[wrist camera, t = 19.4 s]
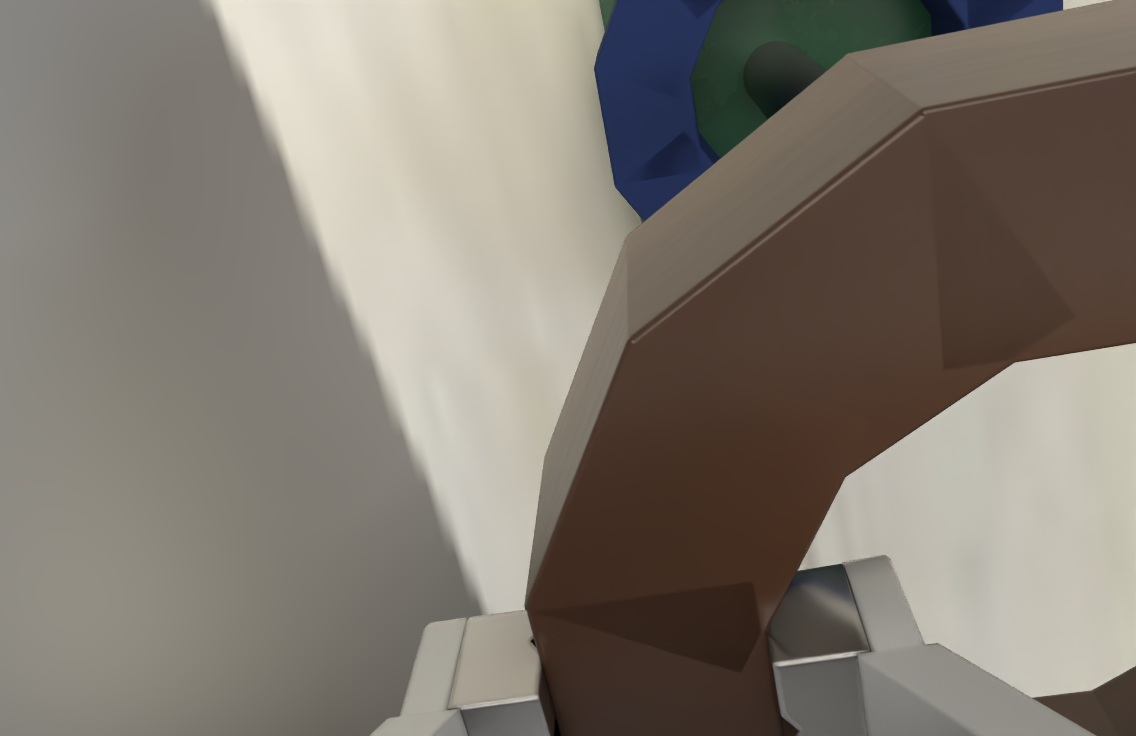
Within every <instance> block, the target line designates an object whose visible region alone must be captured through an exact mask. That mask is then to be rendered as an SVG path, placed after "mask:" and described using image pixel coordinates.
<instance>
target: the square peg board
mask: <svg viewBox="0 0 1136 736" xmlns="http://www.w3.org/2000/svg"><path fill="white" fill-rule="evenodd" d="M615 1H616V0H599V3H600V8H601V14H602V19H603V24H604V29H605V30H606V27H607V24H608V21H609V18H610V16H611V13H612V10H613V7H614V4H615ZM927 37H932V29H931V15H930V14H929V12H928V11H927V9H926V8H925V6H924V5H923V4H922V2H921V1H920V0H724V1H723V2H722V3H721V4H719V5H718V7H717V10H716V12H715V15H714V18H713V20H712V23H711V25H710V28H709V31H708V33H707V36H706V38H705V41H704V44H703V46H702V49H701V51H700V54H699V57H698V59H697V62H696V64H695V67H694V70H693V72H692V75H691V82H692V89H693V96H694V103H695V110H696V117H697V124H698V131H699V133H700V134H701V135H702V137H703V138H704V139H705V140H706V142H707V143H708V144H709V145H710V146H711V148H712V149H713V150H714V151H715V153H716V154H717V155H718V156H719V158H720V159H721V158H722V157H723V156H725V155H726V154H727V153H728V152H729V151H731V150H732V149H733V148H734V147H735V146H737V145H738V144H739V143H740V142H742V141H743V140H744V139H745V138H746V137H748V136H749V135H750V134H751V133H752V132H754V131H755V130H756V129H757V128H758V127H760V126H761V125H762V124H763V123H765V122H766V121H767V120H768V119H769V118H771V117H772V116H773V115H774V114H775V113H777V112H778V111H779V110H780V109H781V108H783V107H784V106H785V105H786V104H788V103H789V102H790V101H791V100H792V99H794V98H795V97H796V96H797V95H798V94H800V93H801V92H802V91H803V90H805V89H806V88H807V87H808V86H809V85H811V84H812V83H813V82H814V81H815V80H817V79H818V78H819V77H820V76H821V75H823V74H824V73H825V72H826V71H828V70H829V69H830V68H831V67H832V66H834V65H835V64H836V63H837V62H838V61H840V60H841V59H842V58H843V57H844V56H845V55H847V54H848V53H853V52H858V51H863V50H868V49H873V48H878V47H883V46H888V45H893V44H898V43H903V42H907V41H912V40H917V39H922V38H927ZM641 221H642V223H643V222H644V220H643V219H642V218H641Z"/></svg>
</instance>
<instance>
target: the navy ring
mask: <svg viewBox="0 0 1136 736" xmlns="http://www.w3.org/2000/svg"><path fill="white" fill-rule="evenodd" d="M723 1H724V0H616V1H615V4H614V7H613V10H612V13H611V16H610V18H609V21H608V24H607V27H606V30H605V33H604V36H603V39H602V42H601V44H600V47H599V50H598V53H597V57H596V62H595V67H594V71H595V77H596V83H597V88H598V94H599V100H600V105H601V111H602V117H603V122H604V128H605V134H606V139H607V145H608V151H609V156H610V162H611V168H612V173H613V179H614V185H615V187H616V189H617V190H618V191H619V192H620V193H621V195H622V196H623V197H624V198H625V199H626V200H627V202H628V203H629V204H630V205H631V206H632V207H633V209H634V210H635V211H636V212H637V213H638V215H639V216H640V217H641V218H642V219H643V220H644V222H645V221H646V220H647V219H648V218H649V217H651V216H652V215H653V214H654V213H655V212H657V211H658V210H659V209H660V208H662V207H663V206H664V205H665V204H666V203H668V202H669V201H670V200H671V199H672V198H674V197H675V196H676V195H677V194H679V193H680V192H681V191H682V190H683V189H685V188H686V187H687V186H688V185H689V184H691V183H692V182H693V181H694V180H695V179H697V178H698V177H699V176H700V175H702V174H703V173H704V172H705V171H706V170H708V169H709V168H710V167H711V166H712V165H714V164H715V163H716V162H717V161H718V160H720V158H719V156H718V155H717V154H716V153H715V151H714V150H713V149H712V148H711V146H710V145H709V144H708V143H707V142H706V140H705V139H704V138H703V137H702V135H701V134H700V133H699V131H698V124H697V117H696V110H695V103H694V96H693V89H692V82H691V75H692V72H693V70H694V67H695V64H696V62H697V59H698V57H699V54H700V51H701V49H702V46H703V44H704V41H705V38H706V36H707V33H708V31H709V28H710V25H711V23H712V20H713V18H714V15H715V12H716V10H717V7H718V5H719V4H721V3H722V2H723ZM920 1H921V2H922V4H923V5H924V6H925V8H926V9H927V11H928V12H929V14H930V15H931V29H932V36H937V35H942V34H947V33H952V32H957V31H962V30H967V29H972V28H977V27H982V26H987V25H992V24H997V23H1002V22H1007V21H1012V20H1017V19H1022V18H1027V17H1032V16H1037V15H1042V14H1047V13H1052V12H1057V11H1062V10H1063V0H920Z"/></svg>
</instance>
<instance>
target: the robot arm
mask: <svg viewBox="0 0 1136 736" xmlns="http://www.w3.org/2000/svg"><path fill="white" fill-rule="evenodd" d="M766 634H767V640H768V646H769V652H770V659H771V665H772V671H773V677H774V683H775V688H776V693H777V698H778V703H779V708H780V713H781V715H780V717H781V723H782V728H783V734H784V736H1096V735H1094V734H1093V733H1091V732H1089V731H1087V730H1086V729H1084V728H1082V727H1081V726H1079V725H1077V724H1075V723H1074V722H1072V721H1070V720H1069V719H1067V718H1065V717H1063V716H1062V715H1060V714H1058V713H1057V712H1055V711H1053V710H1052V709H1050V708H1048V707H1046V706H1045V705H1043V704H1041V703H1040V702H1038V701H1036V700H1034V699H1033V698H1031V697H1029V696H1028V695H1026V694H1024V693H1022V692H1021V691H1019V690H1017V689H1016V688H1014V687H1012V686H1011V685H1009V684H1007V683H1005V682H1004V681H1002V680H1000V679H999V678H997V677H995V676H993V675H992V674H990V673H988V672H987V671H985V670H983V669H982V668H980V667H978V666H976V665H975V664H973V663H971V662H970V661H968V660H966V659H964V658H963V657H961V656H959V655H958V654H956V653H954V652H952V651H951V650H949V649H947V648H946V647H944V646H942V645H941V644H938V643H936V644H928V645H925V643H924V641H923V638H922V636H921V633H920V631H919V628H918V626H917V623H916V621H915V618H914V616H913V613H912V611H911V609H910V606H909V604H908V601H907V599H906V596H905V594H904V591H903V589H902V586H901V584H900V581H899V579H898V576H897V574H896V571H895V569H894V567H893V564H892V562H891V559H890V558H889V557H887V556H886V555H881V556H876V557H870V558H864V559H859V560H853V561H848V562H842V564H838V565H831V566H825V567H819V568H812V569H806V570H800V571H797V572H796V574H795V576H794V578H793V580H792V582H791V584H790V586H789V588H788V590H787V592H786V594H785V596H784V598H783V599H782V601H781V603H780V605H779V607H778V609H777V611H776V613H775V615H774V617H773V619H772V621H771V623H770V628H769V630H768V632H766ZM555 717H556V711H555V707H554V704H553V700H552V697H551V693H550V690H549V687H548V683H547V680H546V676H545V673H544V669H543V666H542V663H541V662H540V659H539V656H538V652H537V648H536V645H535V641H534V637H533V634H532V630H531V626H530V622H529V619H528V615H527V611H526V610H522V611H514V612H506V613H498V614H490V615H482V616H474V617H471V618H460V619H453V620H446V621H439V622H432V623H430V624H429V625H428V626H427V627H426V628H425V629H424V631H423V634H422V638H421V642H420V645H419V649H418V652H417V656H416V659H415V663H414V667H413V670H412V674H411V677H410V681H409V685H408V688H407V692H406V696H405V699H404V703H403V707H402V710H401V714H400V717H394V718H388V719H387V720H386V721H385V722H384V723H383V724H382V725H380V726H379V727H378V728H377V729H376V730H375V731H374V732H373V733H372V734H371V735H370V736H560V734H559V730H558V726H557V722H556V719H555Z"/></svg>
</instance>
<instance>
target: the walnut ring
mask: <svg viewBox="0 0 1136 736" xmlns="http://www.w3.org/2000/svg"><path fill="white" fill-rule="evenodd" d="M1132 343H1136V0H1112V1H1107V2H1102V3H1097V4H1092V5H1087V6H1082V7H1077V8H1072V9H1067V10H1062V11H1057V12H1052V13H1047V14H1042V15H1037V16H1032V17H1027V18H1022V19H1017V20H1012V21H1007V22H1002V23H997V24H992V25H987V26H982V27H977V28H972V29H967V30H962V31H957V32H952V33H947V34H942V35H937V36H932V37H927V38H922V39H917V40H912V41H907V42H903V43H898V44H893V45H888V46H883V47H878V48H873V49H868V50H863V51H858V52H853V53H848V54H847V55H845V56H844V57H843V58H842V59H841V60H840V61H838V62H837V63H836V64H835V65H834V66H832V67H831V68H830V69H829V70H828V71H826V72H825V73H824V74H823V75H821V76H820V77H819V78H818V79H817V80H815V81H814V82H813V83H812V84H811V85H809V86H808V87H807V88H806V89H805V90H803V91H802V92H801V93H800V94H798V95H797V96H796V97H795V98H794V99H792V100H791V101H790V102H789V103H788V104H786V105H785V106H784V107H783V108H781V109H780V110H779V111H778V112H777V113H775V114H774V115H773V116H772V117H771V118H769V119H768V120H767V121H766V122H765V123H763V124H762V125H761V126H760V127H758V128H757V129H756V130H755V131H754V132H752V133H751V134H750V135H749V136H748V137H746V138H745V139H744V140H743V141H742V142H740V143H739V144H738V145H737V146H735V147H734V148H733V149H732V150H731V151H729V152H728V153H727V154H726V155H725V156H723V157H722V158H721V159H720V160H718V161H717V162H716V163H715V164H714V165H712V166H711V167H710V168H709V169H708V170H706V171H705V172H704V173H703V174H702V175H700V176H699V177H698V178H697V179H695V180H694V181H693V182H692V183H691V184H689V185H688V186H687V187H686V188H685V189H683V190H682V191H681V192H680V193H679V194H677V195H676V196H675V197H674V198H672V199H671V200H670V201H669V202H668V203H666V204H665V205H664V206H663V207H662V208H660V209H659V210H658V211H657V212H655V213H654V214H653V215H652V216H651V217H649V218H648V219H647V220H646V221H645V222H643V223H642V224H641V225H640V226H639V227H637V228H636V229H635V230H634V231H632V232H631V233H630V234H629V235H628V236H627V237H626V238H625V241H624V244H623V246H622V249H621V252H620V254H619V257H618V260H617V262H616V265H615V268H614V271H613V273H612V276H611V279H610V281H609V284H608V287H607V289H606V292H605V295H604V298H603V300H602V303H601V306H600V308H599V311H598V314H597V317H596V319H595V322H594V325H593V327H592V330H591V333H590V335H589V338H588V341H587V344H586V346H585V349H584V352H583V354H582V357H581V360H580V362H579V365H578V368H577V371H576V373H575V376H574V379H573V381H572V384H571V387H570V389H569V392H568V395H567V398H566V400H565V403H564V406H563V408H562V411H561V414H560V417H559V419H558V422H557V425H556V427H555V430H554V433H553V435H552V438H551V441H550V444H549V446H548V449H547V452H546V454H545V458H544V465H543V473H542V480H541V487H540V495H539V502H538V509H537V517H536V524H535V531H534V539H533V546H532V553H531V561H530V568H529V575H528V583H527V590H526V598H525V610H526V611H527V615H528V619H529V622H530V626H531V630H532V634H533V637H534V641H535V645H536V648H537V652H538V656H539V659H540V662H541V663H542V666H543V669H544V673H545V676H546V680H547V683H548V687H549V690H550V693H551V697H552V700H553V704H554V707H555V711H556V717H555V719H556V722H557V726H558V730H559V734H560V736H784V734H783V728H782V723H781V717H780V715H781V713H780V708H779V703H778V698H777V693H776V688H775V683H774V677H773V671H772V665H771V659H770V652H769V646H768V640H767V634H766V632H768V630H769V628H770V623H771V621H772V619H773V617H774V615H775V613H776V611H777V609H778V607H779V605H780V603H781V601H782V599H783V598H784V596H785V594H786V592H787V590H788V588H789V586H790V584H791V582H792V580H793V578H794V576H795V574H796V572H797V570H798V568H799V566H800V564H801V563H802V561H803V559H804V557H805V555H806V553H807V551H808V549H809V547H810V545H811V543H812V541H813V539H814V537H815V535H816V533H817V531H818V529H819V528H820V526H821V524H822V522H823V520H824V518H825V516H826V514H827V512H828V510H829V508H830V506H831V504H832V502H833V500H834V498H835V496H836V494H837V493H838V491H839V489H840V487H841V485H842V483H843V481H844V479H845V477H846V476H848V475H849V474H851V473H852V472H854V471H855V470H857V469H858V468H860V467H861V466H863V465H864V464H866V463H867V462H869V461H870V460H871V459H873V458H874V457H876V456H877V455H879V454H880V453H882V452H883V451H885V450H886V449H888V448H889V447H891V446H892V445H894V444H895V443H897V442H898V441H899V440H901V439H902V438H904V437H905V436H907V435H908V434H910V433H911V432H913V431H914V430H916V429H917V428H919V427H920V426H922V425H923V424H925V423H926V422H928V421H929V420H930V419H932V418H933V417H935V416H936V415H938V414H939V413H941V412H942V411H944V410H945V409H947V408H948V407H950V406H951V405H953V404H954V403H956V402H957V401H958V400H960V399H961V398H963V397H964V396H966V395H967V394H969V393H970V392H972V391H973V390H975V389H976V388H978V387H979V386H981V385H982V384H984V383H985V382H986V381H988V380H989V379H991V378H992V377H994V376H995V375H997V374H998V373H1000V372H1001V371H1003V370H1004V369H1006V368H1007V367H1009V366H1010V365H1012V364H1013V363H1015V362H1020V361H1027V360H1033V359H1039V358H1045V357H1051V356H1058V355H1064V354H1070V353H1076V352H1082V351H1089V350H1095V349H1101V348H1107V347H1113V346H1120V345H1126V344H1132ZM1033 699H1034V700H1036V701H1038V702H1040V703H1041V704H1043V705H1045V706H1046V707H1048V708H1050V709H1052V710H1053V711H1055V712H1057V713H1058V714H1060V715H1062V716H1063V717H1065V718H1067V719H1069V720H1070V721H1072V722H1074V723H1075V724H1077V725H1079V726H1081V727H1082V728H1084V729H1086V730H1087V731H1089V732H1091V733H1093V734H1094V735H1096V736H1136V666H1135V667H1133V668H1132V669H1130V670H1128V671H1126V672H1124V673H1123V674H1121V675H1119V676H1117V677H1115V678H1114V679H1112V680H1110V681H1108V682H1106V683H1105V684H1103V685H1101V686H1099V687H1097V688H1096V689H1094V690H1092V691H1084V692H1076V693H1068V694H1060V695H1052V696H1043V697H1035V698H1033Z"/></svg>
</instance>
